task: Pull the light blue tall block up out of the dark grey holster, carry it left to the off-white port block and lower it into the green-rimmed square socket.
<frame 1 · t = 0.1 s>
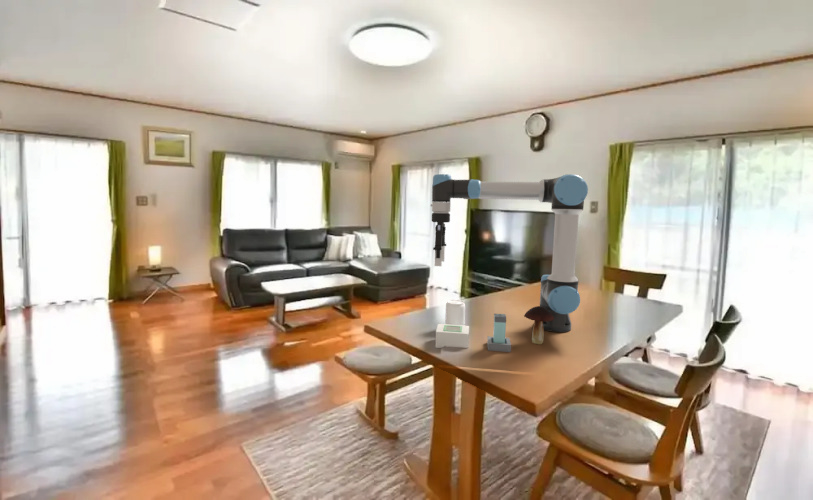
hand: (439, 263, 167), 28 cm above the table, fingers open, 13 cm apart
holster: (498, 349, 147), on the table
port block: (452, 344, 152), on the table
decorative mushroom: (537, 345, 152), on the table
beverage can: (454, 330, 169), on the table
light blue tall block: (498, 347, 147), point 1 cm above the table, touching holster
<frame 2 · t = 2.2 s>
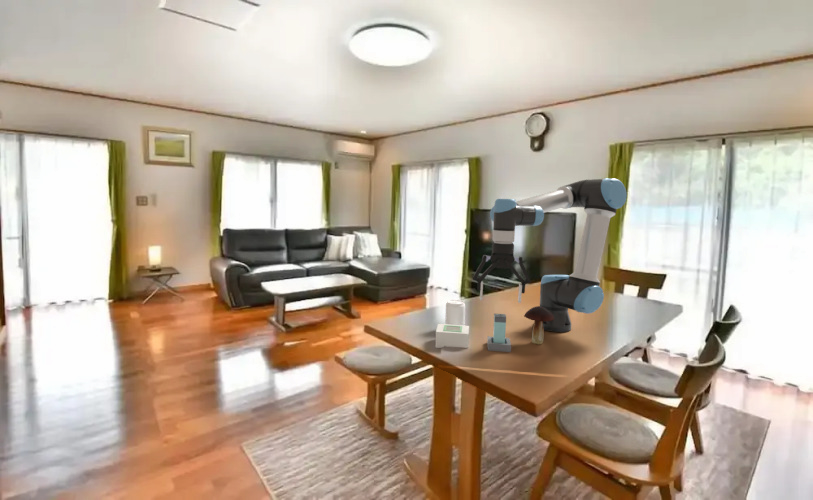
hand: (500, 300, 145), 18 cm above the table, fingers open, 13 cm apart
nothing on the table moved.
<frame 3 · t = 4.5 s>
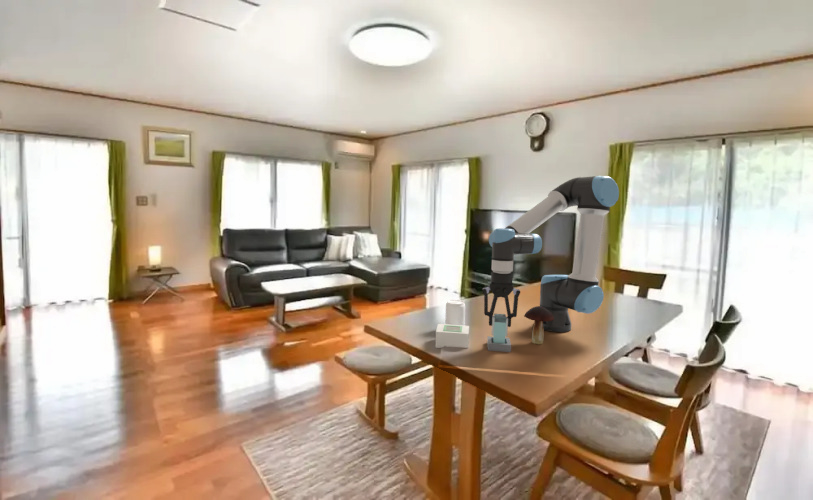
hand: (499, 334, 146), 6 cm above the table, fingers closed on light blue tall block, 4 cm apart
light blue tall block: (498, 347, 147), point 1 cm above the table, touching gripper, holster
everything else where it was.
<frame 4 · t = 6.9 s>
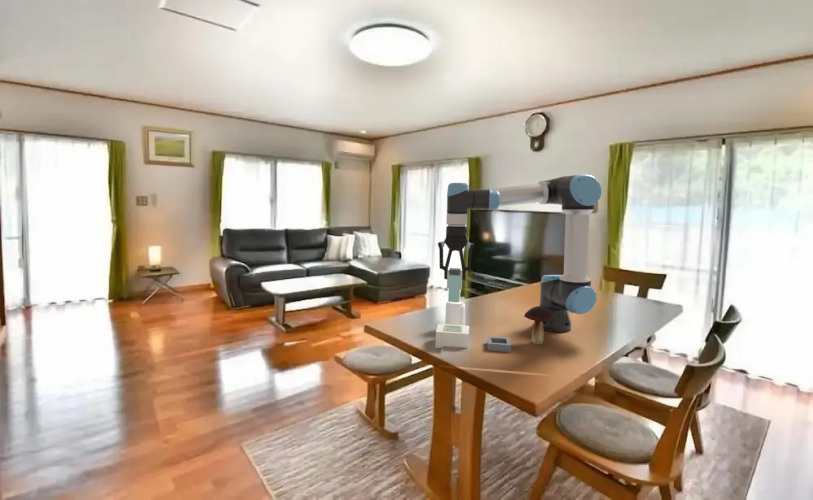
hand: (454, 288, 149), 22 cm above the table, fingers closed on light blue tall block, 4 cm apart
light blue tall block: (453, 300, 149), point 17 cm above the table, touching gripper
everything else where it was.
when the fingers open (7 cm above the table, at t = 9.6 s): light blue tall block drops 1 cm, resting on port block.
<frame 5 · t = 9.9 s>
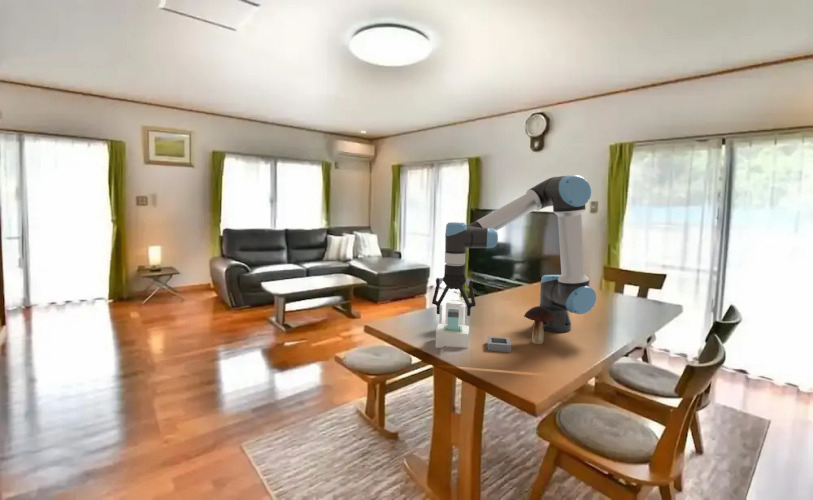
hand: (453, 323, 151), 8 cm above the table, fingers open, 9 cm apart
light blue tall block: (452, 341, 151), point 1 cm above the table, touching port block
everything else where it was.
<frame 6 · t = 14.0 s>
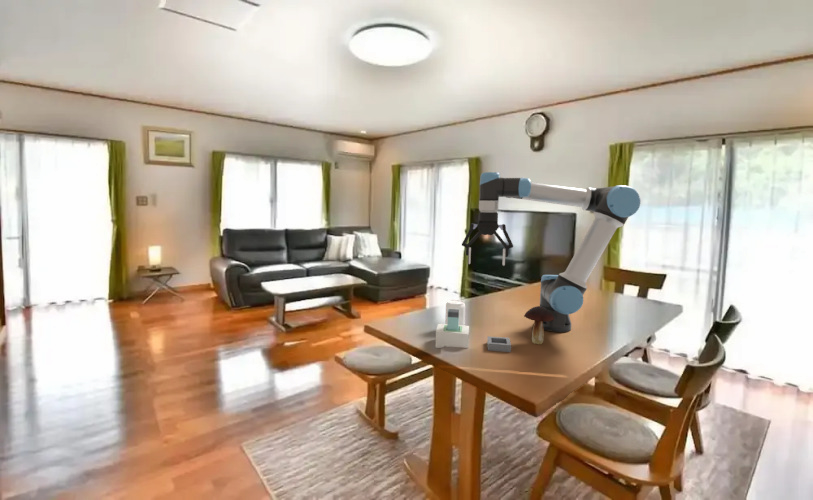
hand: (486, 264, 162), 29 cm above the table, fingers open, 13 cm apart
nothing on the table moved.
at the end: light blue tall block 0.0 cm off-centre on the port block, point 1.0 cm above the port block's base; light blue tall block tilted 0°; the gripper is holding nothing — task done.
